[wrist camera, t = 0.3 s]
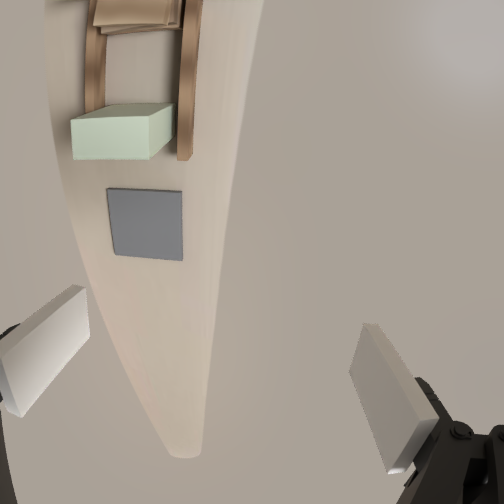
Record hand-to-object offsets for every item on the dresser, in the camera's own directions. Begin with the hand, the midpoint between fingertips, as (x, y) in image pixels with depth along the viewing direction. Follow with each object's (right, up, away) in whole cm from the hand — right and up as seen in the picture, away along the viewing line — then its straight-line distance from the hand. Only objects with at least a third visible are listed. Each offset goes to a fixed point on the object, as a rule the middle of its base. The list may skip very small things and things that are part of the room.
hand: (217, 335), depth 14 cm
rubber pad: (-13, +7, +28) cm, 31 cm away
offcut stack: (-10, +30, +13) cm, 35 cm away
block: (-11, +19, +20) cm, 30 cm away
